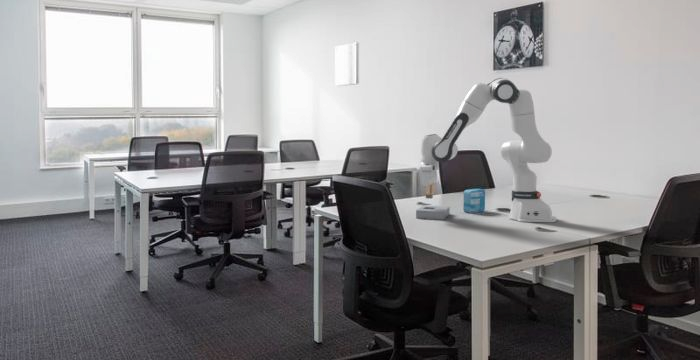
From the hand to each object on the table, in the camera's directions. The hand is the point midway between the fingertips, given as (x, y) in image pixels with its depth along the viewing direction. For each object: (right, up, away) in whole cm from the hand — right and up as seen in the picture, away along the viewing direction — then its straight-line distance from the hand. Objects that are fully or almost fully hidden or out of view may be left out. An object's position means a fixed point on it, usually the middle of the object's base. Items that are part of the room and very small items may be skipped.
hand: (429, 192), depth 270 cm
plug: (0, -3, 0) cm, 3 cm away
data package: (+26, -11, +13) cm, 31 cm away
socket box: (+2, -12, +1) cm, 12 cm away
